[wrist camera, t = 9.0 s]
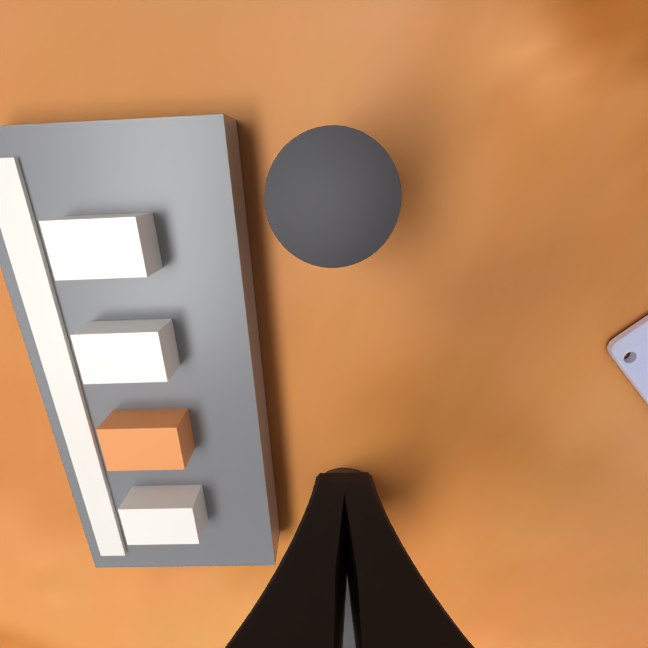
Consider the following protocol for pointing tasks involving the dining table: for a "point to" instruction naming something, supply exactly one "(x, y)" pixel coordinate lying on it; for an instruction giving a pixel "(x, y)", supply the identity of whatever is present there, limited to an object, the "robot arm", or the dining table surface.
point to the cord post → (332, 196)
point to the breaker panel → (144, 333)
